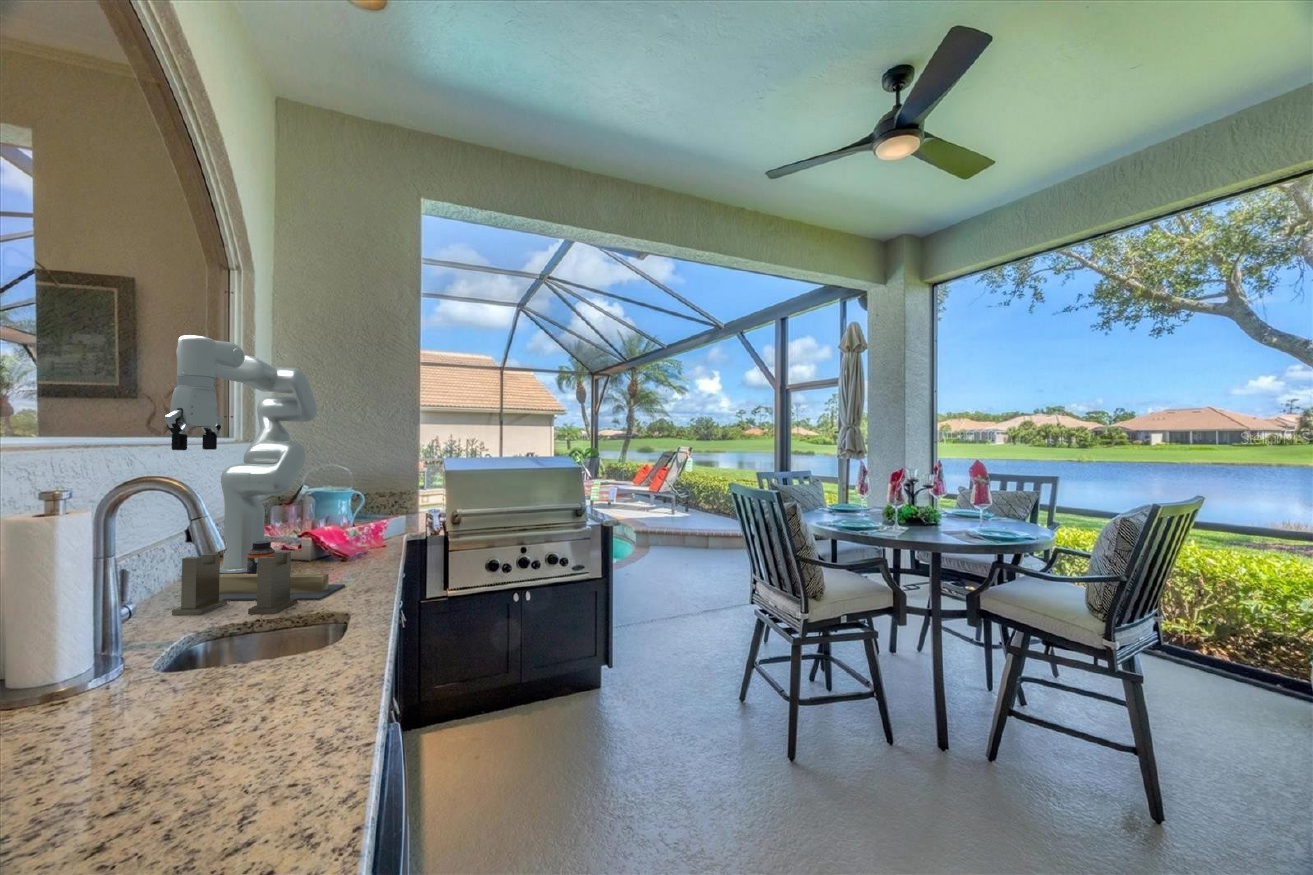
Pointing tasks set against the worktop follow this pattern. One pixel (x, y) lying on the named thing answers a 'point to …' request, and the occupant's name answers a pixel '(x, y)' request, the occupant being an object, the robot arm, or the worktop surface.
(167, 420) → the robot arm
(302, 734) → the worktop surface
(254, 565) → the supplement bottle
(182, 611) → the rail stands
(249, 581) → the rail
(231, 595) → the mat
